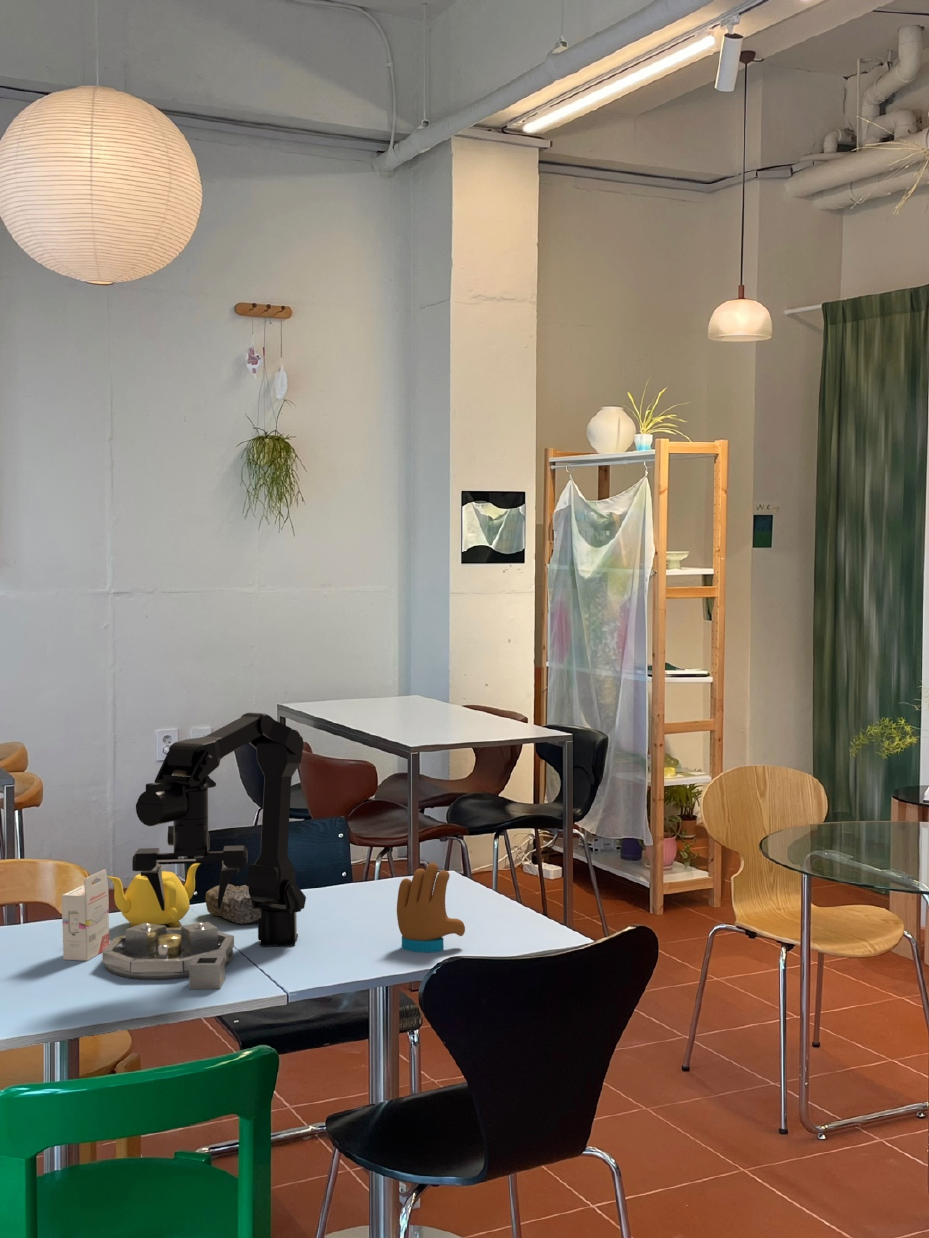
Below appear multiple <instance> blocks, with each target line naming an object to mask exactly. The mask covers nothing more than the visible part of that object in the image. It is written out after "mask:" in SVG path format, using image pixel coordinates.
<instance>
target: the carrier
mask: <svg viewBox="0 0 929 1238" xmlns="http://www.w3.org/2000/svg"><path fill="white" fill-rule="evenodd" d="M218 929H219V928H218V927H217V926H216V925H215V924H212V923H211V922H209V921H205V922H202V921H200V922H198V921H197V922H196V923H190V924H183V925H181V926H180V927H167V926H166V925H164V924H161V925H157V924H150V923H142V924H140V925H137V926H134V927H133V926H130V927H127V928H125V930H124V931H125V935H121V936H116V937H114V938H113V939H112V941H110V942H109V945H108V946H107V947H106V948H105V949H104V950H103V952H101V953H102V954H101V955H102V956H101V957H102V958H101V959H102V963H103V964H105V965H104V967H105V969H106V971H107V972H109V973H110V974H112V975H115V976H118V977H122V978H125V979H126V978H127V979H132V980H133V979H134V980H144V981H145V980H148V981H149V980H150V981H151V980H153V981H155V980H158V981H159V980H163V981H164V980H173V979H184V978H189V965H190V963H191V962H192V960H193V958H194V957H195V956H225V967H226V966H227V965H229V964H230V963H231V962H232V961H233V959H234V947H235V935H233V934H229V933H225V932H223V931H219V930H218Z"/></svg>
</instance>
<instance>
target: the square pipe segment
mask: <svg viewBox="0 0 929 1238" xmlns="http://www.w3.org/2000/svg"><path fill="white" fill-rule="evenodd" d="M225 969H226V966H225V956H195V957H194V958H193V960H192V962H191V963H190V965H189V977H188V980H189V983H188V984H189V985H188V988H189V990H221V988H222V986H223V984H224V982H225V980H226V970H225Z"/></svg>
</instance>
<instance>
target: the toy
mask: <svg viewBox="0 0 929 1238" xmlns="http://www.w3.org/2000/svg"><path fill="white" fill-rule="evenodd" d="M449 879H450V872H449V871H447V870H445V869H442V870H440V871H439V866H438V864H437V863H435V862H430V863H428V865H427V866H426V868H425V869H424V868H418V869H416V870H415V871H414V873H413V875H412V879H410V878H403V879H402V880H401V881H400V884H399V886H398V887H399V888H398V891H397V901H396V919H397V925H398V929H399V931H400V934H401V949H403V950H406V951H408V952H409V951H410V952H415V953H416V952H417V953H438V952H442V951H444V937H445V936H447V935H451V934H456V935H457V936H458V937H459V936H460V937H463V936H464V934H465V932H466V927H465V924H464V922H463V920H461V919H459V918H450V917H448V914H447V910H446V909H447V908H446V894H447V885H448V883H449Z"/></svg>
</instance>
